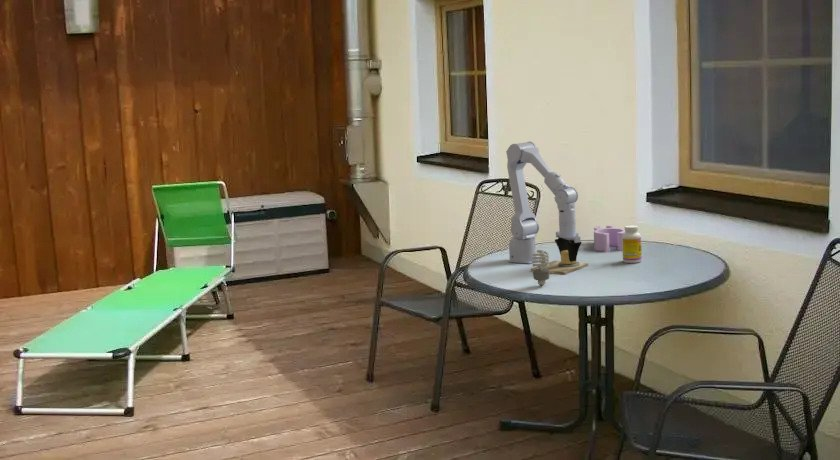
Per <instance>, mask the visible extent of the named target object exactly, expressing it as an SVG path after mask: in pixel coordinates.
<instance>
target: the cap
mask: <svg viewBox="0 0 840 460" xmlns="http://www.w3.org/2000/svg"><path fill="white" fill-rule="evenodd" d="M560 261H561V263H562V264H574V263H577V262H578V261H577V258H576V261H572V262H571V261H570V260H569V254H568V250H564V251H561V255H560Z"/></svg>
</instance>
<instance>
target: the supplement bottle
mask: <svg viewBox="0 0 840 460" xmlns="http://www.w3.org/2000/svg"><path fill="white" fill-rule="evenodd" d="M624 229H625V233H624V234H623V235H622V249H623V251H622V262H624V263H627V264H636V263H641V262H642V258H643V256H642V235H641V233H640V232H639V231H638V230H639V226H638V225H631V224H630V225H625V226H624Z"/></svg>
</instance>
